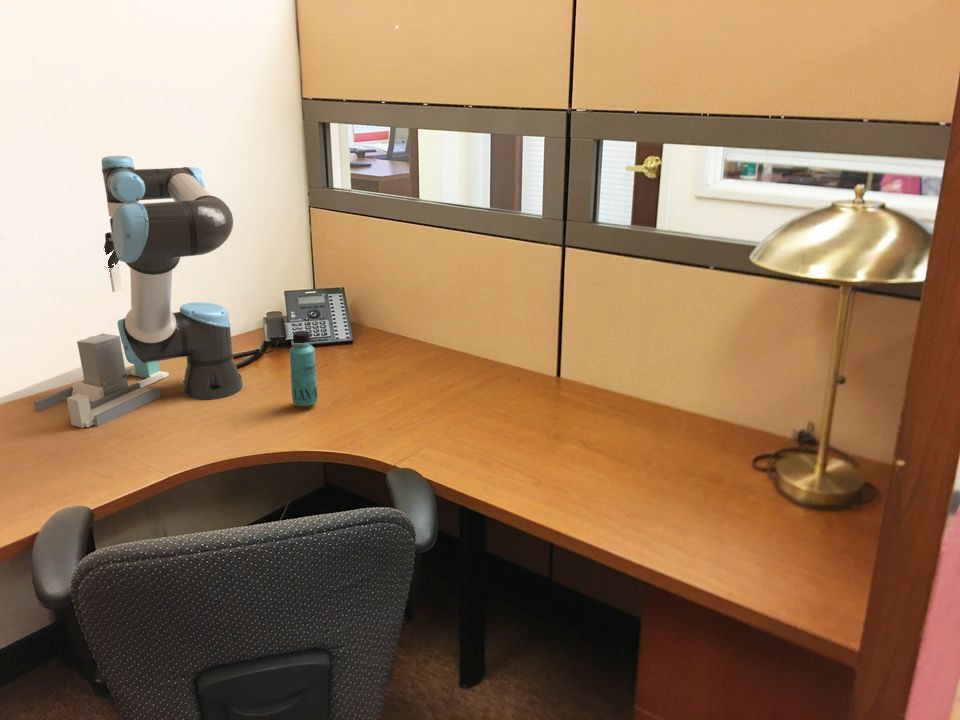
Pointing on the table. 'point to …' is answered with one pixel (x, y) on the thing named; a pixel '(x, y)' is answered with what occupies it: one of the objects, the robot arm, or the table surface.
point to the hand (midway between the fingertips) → (136, 294)
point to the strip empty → (85, 415)
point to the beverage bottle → (303, 370)
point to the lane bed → (109, 413)
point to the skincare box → (103, 362)
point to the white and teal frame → (142, 370)
